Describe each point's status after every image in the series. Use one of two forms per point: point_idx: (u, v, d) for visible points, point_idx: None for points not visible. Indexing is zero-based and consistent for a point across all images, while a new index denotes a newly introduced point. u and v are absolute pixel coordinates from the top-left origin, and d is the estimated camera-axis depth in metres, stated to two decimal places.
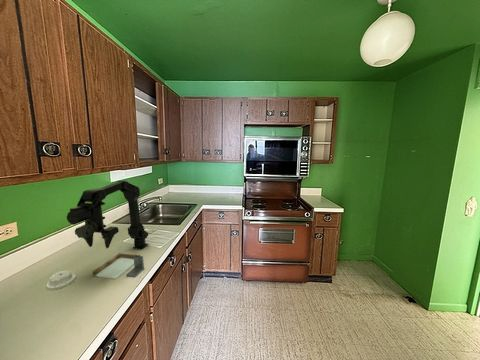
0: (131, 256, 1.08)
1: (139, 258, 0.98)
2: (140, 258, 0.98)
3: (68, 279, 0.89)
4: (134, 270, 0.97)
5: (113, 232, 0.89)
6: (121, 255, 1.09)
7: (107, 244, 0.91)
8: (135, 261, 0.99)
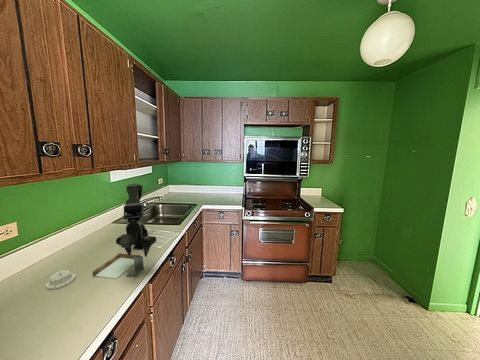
0: (131, 256, 1.08)
1: (139, 258, 0.98)
2: (140, 258, 0.98)
3: (68, 279, 0.89)
4: (134, 270, 0.97)
5: (152, 242, 0.95)
6: (121, 255, 1.09)
7: (146, 253, 0.97)
8: (135, 261, 0.99)
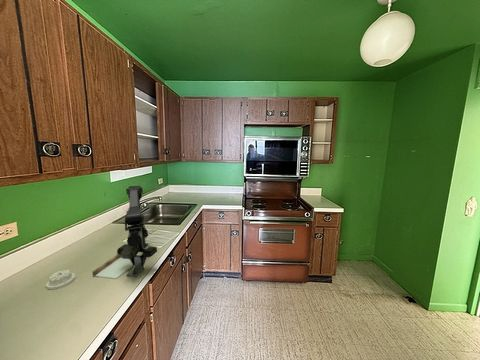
0: None
1: (139, 258, 0.98)
2: (140, 258, 0.98)
3: (68, 279, 0.89)
4: (134, 270, 0.97)
5: (153, 252, 0.96)
6: None
7: (143, 263, 0.98)
8: (135, 261, 0.99)
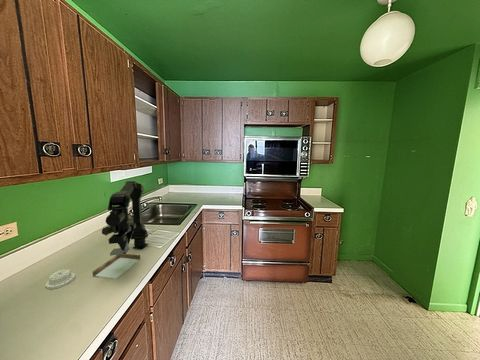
0: (131, 256, 1.08)
1: None
2: None
3: (67, 278, 0.90)
4: (119, 249, 0.97)
5: (114, 241, 0.87)
6: (121, 255, 1.09)
7: (121, 247, 0.94)
8: None
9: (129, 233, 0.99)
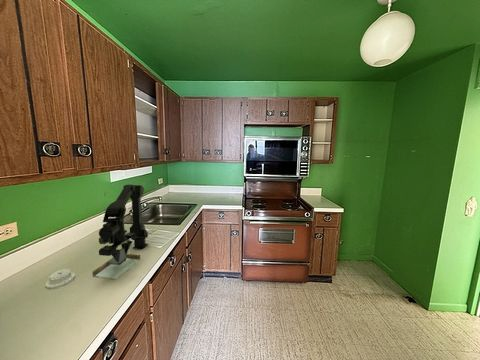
0: (131, 256, 1.08)
1: None
2: None
3: (67, 278, 0.90)
4: None
5: (102, 253, 0.88)
6: None
7: (114, 258, 0.95)
8: None
9: (126, 244, 1.00)
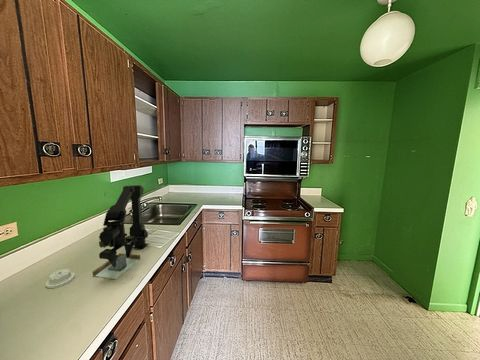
0: (131, 256, 1.08)
1: None
2: None
3: (67, 278, 0.90)
4: (117, 265, 1.00)
5: (103, 256, 0.88)
6: None
7: (111, 263, 0.93)
8: None
9: (130, 245, 1.02)
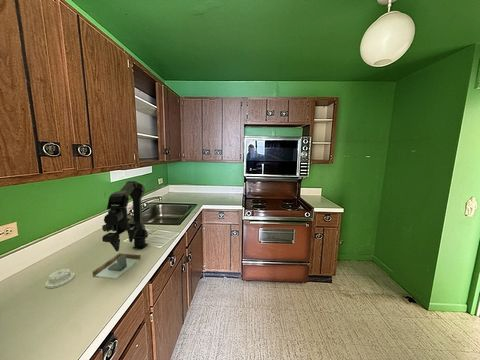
0: (131, 256, 1.08)
1: None
2: None
3: (67, 277, 0.90)
4: (117, 265, 1.00)
5: (106, 239, 0.89)
6: None
7: (114, 247, 0.94)
8: None
9: (132, 231, 1.03)
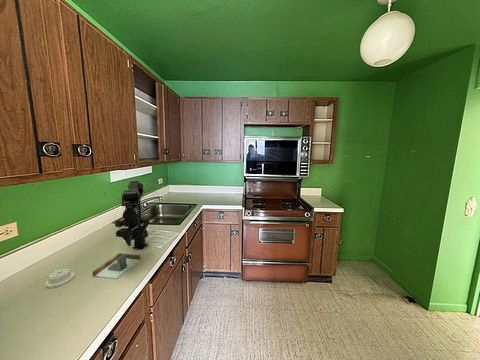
0: (131, 256, 1.08)
1: None
2: None
3: (67, 277, 0.90)
4: (117, 265, 1.00)
5: (119, 234, 0.93)
6: None
7: (126, 242, 0.98)
8: None
9: (143, 227, 1.07)
